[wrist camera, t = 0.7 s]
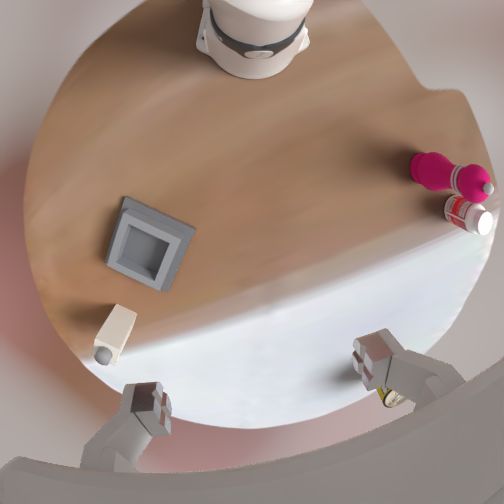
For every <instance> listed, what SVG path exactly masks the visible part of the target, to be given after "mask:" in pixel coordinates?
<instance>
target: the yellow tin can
mask: <svg viewBox="0 0 504 504" xmlns="http://www.w3.org/2000/svg"><path fill="white" fill-rule="evenodd" d="M376 389H377V391H378V393H379V395H380V397H381V400H382V402H383V404H384V406H385V407H389V408H392V407H396V406H399V405H401V404H403V403H404V402H406V401H408V400H409V399H408V398H406V397H404V396H402V395H400V394H399V393H397V392H395V391H393V390H392V389H390V388H388V387H386V386H385V385H384V386H381V387H378V388H376Z"/></svg>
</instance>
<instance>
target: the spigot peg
mask: <svg viewBox="0 0 504 504" xmlns="http://www.w3.org/2000/svg"><path fill="white" fill-rule="evenodd" d="M136 316H137V313H135V312H133V311H131V310H129V309H127V308H124V307H122V306H120V305H118V304H116V305H115V307H114V308H113V310H112V311H111V313H110V315H109V316H108V318H107V320H106V321H105V323H104V324H103V326H102V328H101V329H100V331H99V333H98V334H97V336H96V338H95V342H94V347H93V352H92V355H93V356H94V357H95V360H96V361H97V362H98V363H99V364H101V365H108V364H109V363H110V364H112V365H114V366H115V365H116V363H117V360H118V358H119V356H120V354H121V352H122V349H123V347H124V345H125V343H126V341H127V339H128V337H129V335H130V332H131V330H132V328H133V325H134V322H135V319H136Z"/></svg>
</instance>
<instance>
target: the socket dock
mask: <svg viewBox="0 0 504 504" xmlns="http://www.w3.org/2000/svg"><path fill="white" fill-rule="evenodd" d="M195 230H196V228H195V227H193V226H190V225H188V224H186V223H184V222H182V221H180V220H178V219H175V218H173V217H171V216H169V215H167V214H165V213H163V212H160V211H158V210H156V209H154V208H152V207H150V206H148V205H145V204H143V203H141V202H139V201H137V200H135V199H133V198H130V197H128V196H126V197H125V199H124V202H123V205H122V208H121V210H120V213H119V216H118V219H117V222H116V225H115V229H114V232H113V235H112V238H111V241H110V245H109V248H108V251H107V255H106V259H105V263H107V266H108V267H110V268H112V269H114V270H116V271H118V272H120V273H122V274H125V275H127V276H129V277H131V278H133V279H135V280H137V281H139V282H141V283H143V284H145V285H148V286H150V287H152V288H154V289H156V290H158V291H160V289H161V290H163V291H166V292H168V290H169V288H170V286H171V283H172V281H173V279H174V276H175V274H176V272H177V270H178V267H179V265H180V263H181V261H182V258H183V256H184V254H185V252H186V249H187V247H188V245H189V243H190V241H191V238H192V236H193V234H194V232H195Z"/></svg>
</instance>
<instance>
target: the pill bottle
mask: <svg viewBox="0 0 504 504" xmlns="http://www.w3.org/2000/svg"><path fill="white" fill-rule="evenodd" d="M444 213H445V217H446V219H447V220H448V221H449V222H451V223H453V224H455V225H457V226H459V227H460V228H462V229H464V230H466V231H468V232H470V233H473V234H475V233H479V234H481V235H486V234H487V233H488V232H489V231H490V229H491V226H492V216H491V214H490V213H489V212H487V211H485V209H484V207H483V206H482V205H480V204H478V203H471V202H469V201H467V200H465V198H463V197H461V196H458V195H453V196H451V197H450V198H449V199H448V200H447V202H446V204H445V208H444Z"/></svg>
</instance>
